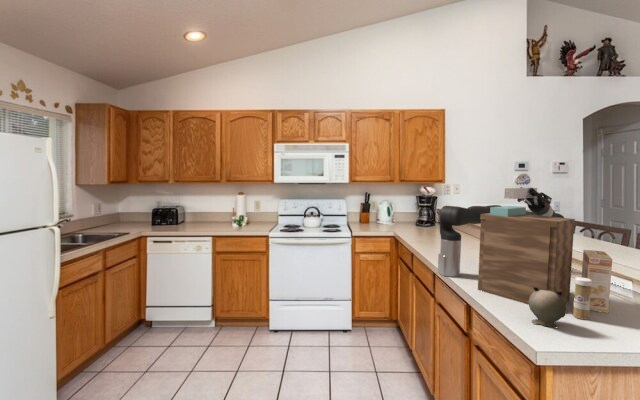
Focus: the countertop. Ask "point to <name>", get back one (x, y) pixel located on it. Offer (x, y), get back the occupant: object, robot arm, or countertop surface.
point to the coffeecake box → (598, 278)
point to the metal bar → (518, 193)
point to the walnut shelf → (525, 255)
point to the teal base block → (507, 211)
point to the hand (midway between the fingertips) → (525, 189)
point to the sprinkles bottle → (582, 298)
